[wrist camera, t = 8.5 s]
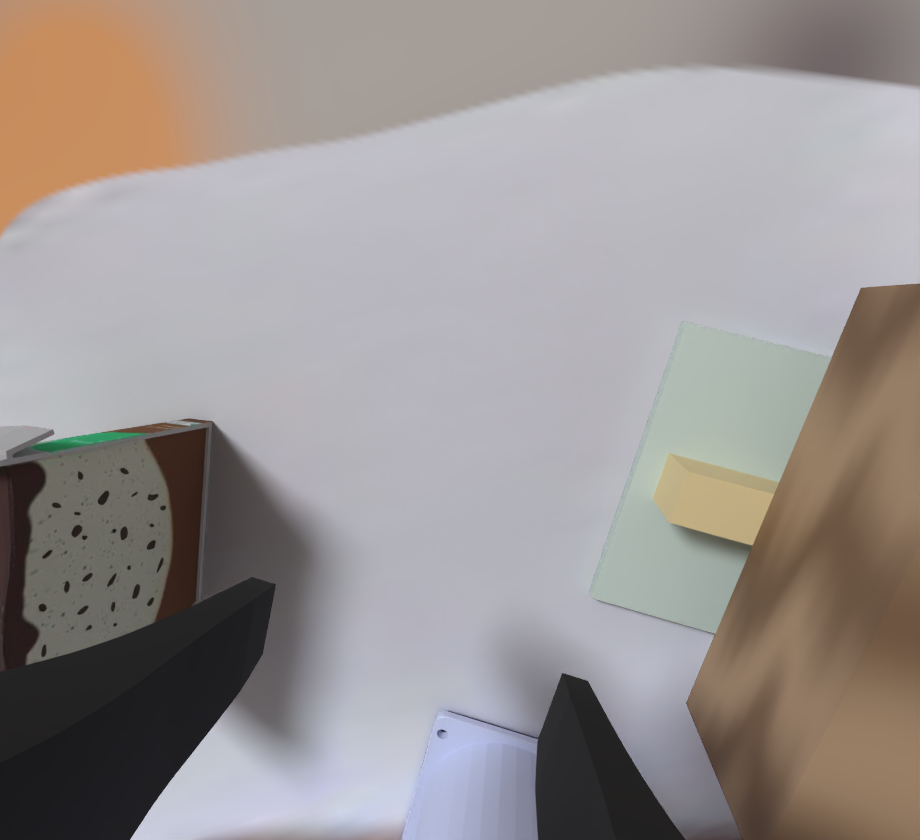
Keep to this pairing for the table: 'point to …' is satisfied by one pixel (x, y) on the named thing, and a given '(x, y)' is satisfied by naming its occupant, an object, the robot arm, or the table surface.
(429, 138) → the table surface
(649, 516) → the ridge stand
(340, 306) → the table surface
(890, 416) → the walnut bar
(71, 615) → the food container
